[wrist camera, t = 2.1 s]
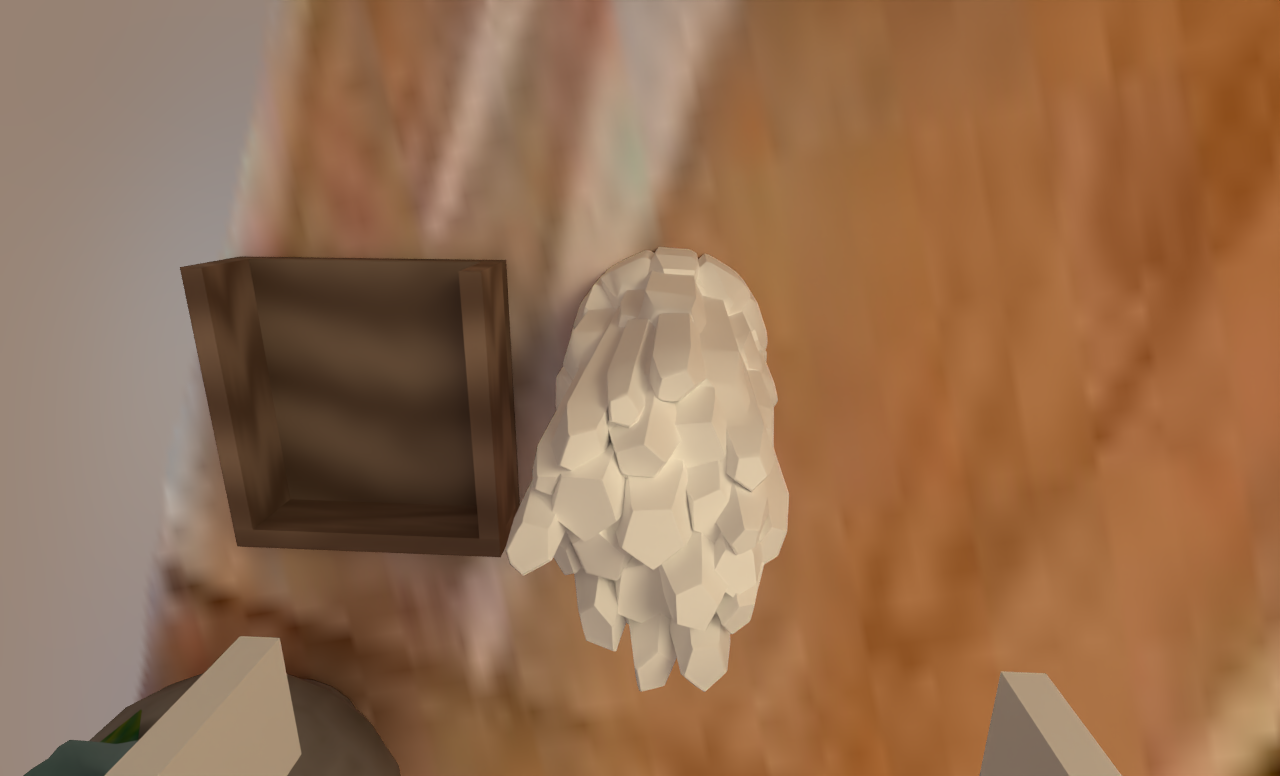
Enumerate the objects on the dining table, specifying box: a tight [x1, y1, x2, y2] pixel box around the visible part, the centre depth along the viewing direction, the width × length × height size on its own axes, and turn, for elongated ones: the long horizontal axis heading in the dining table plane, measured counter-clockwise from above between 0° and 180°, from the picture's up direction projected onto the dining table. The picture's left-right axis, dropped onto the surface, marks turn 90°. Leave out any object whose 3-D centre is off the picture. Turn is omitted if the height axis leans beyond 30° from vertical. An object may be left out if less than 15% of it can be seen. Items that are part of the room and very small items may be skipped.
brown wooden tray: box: [180, 257, 520, 557], centre depth 40 cm, size 17×16×5 cm
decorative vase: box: [506, 247, 789, 692], centre depth 28 cm, size 11×11×25 cm
